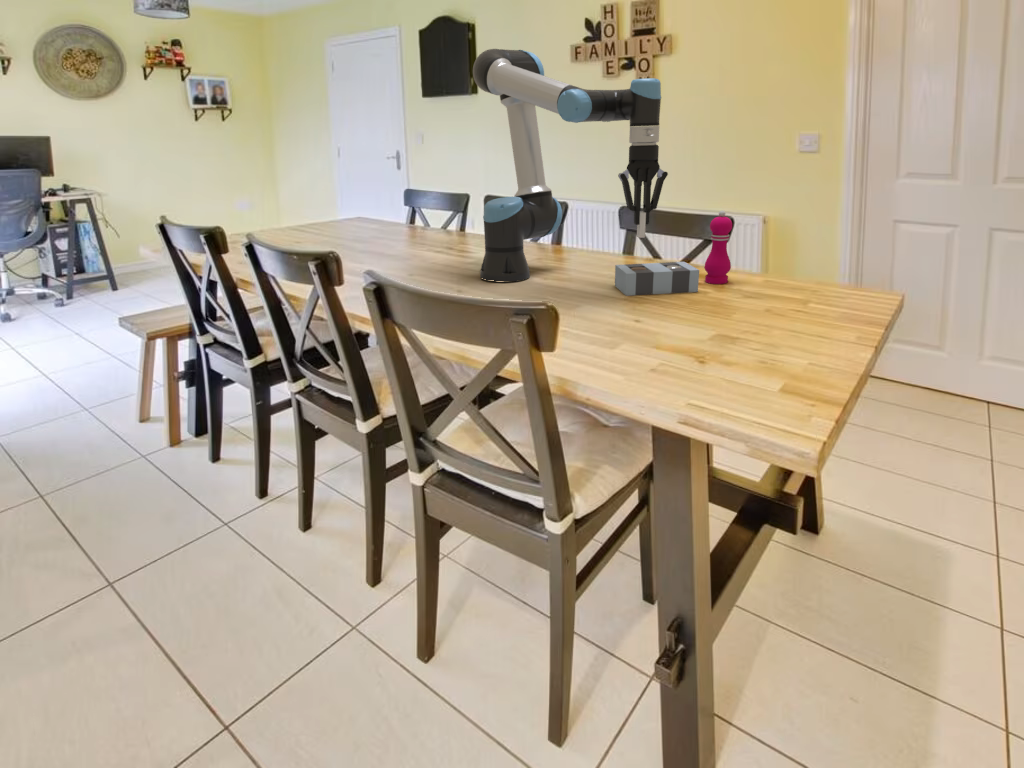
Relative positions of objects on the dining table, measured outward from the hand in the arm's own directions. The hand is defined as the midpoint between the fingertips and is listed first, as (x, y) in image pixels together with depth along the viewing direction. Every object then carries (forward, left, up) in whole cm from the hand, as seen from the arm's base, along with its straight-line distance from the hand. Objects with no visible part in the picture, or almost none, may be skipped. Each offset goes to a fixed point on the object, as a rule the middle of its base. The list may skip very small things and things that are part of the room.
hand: (640, 236), depth 181 cm
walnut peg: (0, 0, -15) cm, 15 cm away
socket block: (+4, +3, -15) cm, 15 cm away
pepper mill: (+16, +19, -15) cm, 29 cm away
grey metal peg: (+7, +7, -15) cm, 18 cm away
